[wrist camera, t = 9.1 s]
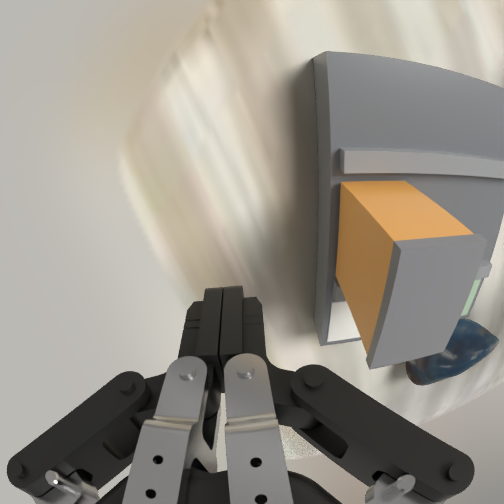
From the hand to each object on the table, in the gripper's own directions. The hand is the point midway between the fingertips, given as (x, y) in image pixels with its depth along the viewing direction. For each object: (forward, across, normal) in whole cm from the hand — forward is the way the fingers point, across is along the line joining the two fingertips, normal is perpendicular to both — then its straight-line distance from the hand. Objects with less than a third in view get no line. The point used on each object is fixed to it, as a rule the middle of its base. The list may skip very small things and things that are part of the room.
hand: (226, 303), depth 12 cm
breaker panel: (+8, -13, 0) cm, 16 cm away
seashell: (+9, -22, +17) cm, 29 cm away
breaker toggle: (+5, -8, 0) cm, 10 cm away
